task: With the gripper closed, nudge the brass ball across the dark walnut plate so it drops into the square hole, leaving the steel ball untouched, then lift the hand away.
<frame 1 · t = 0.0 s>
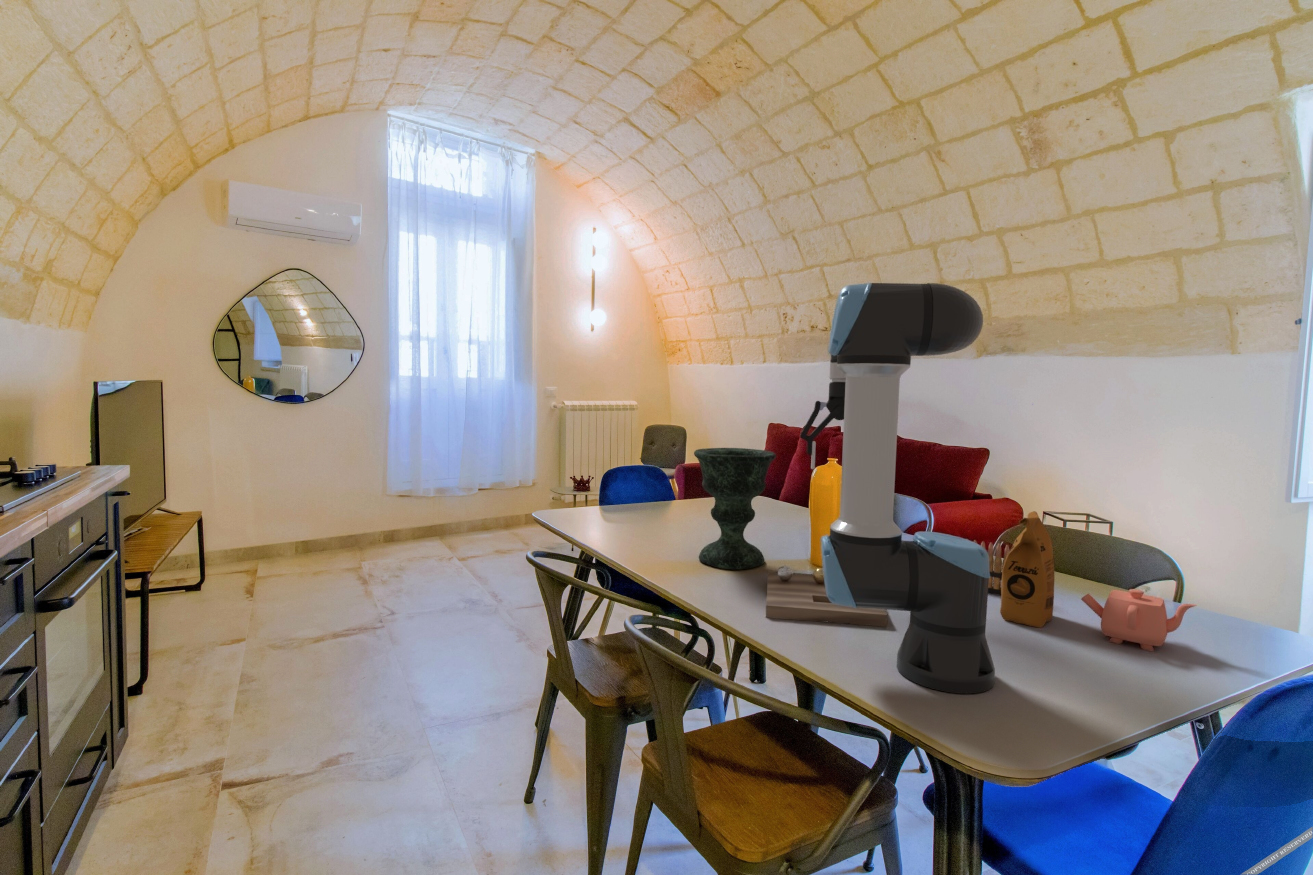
hand: (841, 469, 161), 28 cm above the table, tool pointing down, fingers open, 13 cm apart
steel ball: (785, 573, 156), point 4 cm above the table, touching hole plate
teapot: (1133, 642, 129), on the table
brass ball: (820, 575, 155), point 4 cm above the table, touching hole plate
goblet: (731, 561, 182), on the table
hole plate: (821, 601, 149), on the table
ammunition clip: (983, 591, 160), on the table
coffee package: (1024, 618, 142), on the table
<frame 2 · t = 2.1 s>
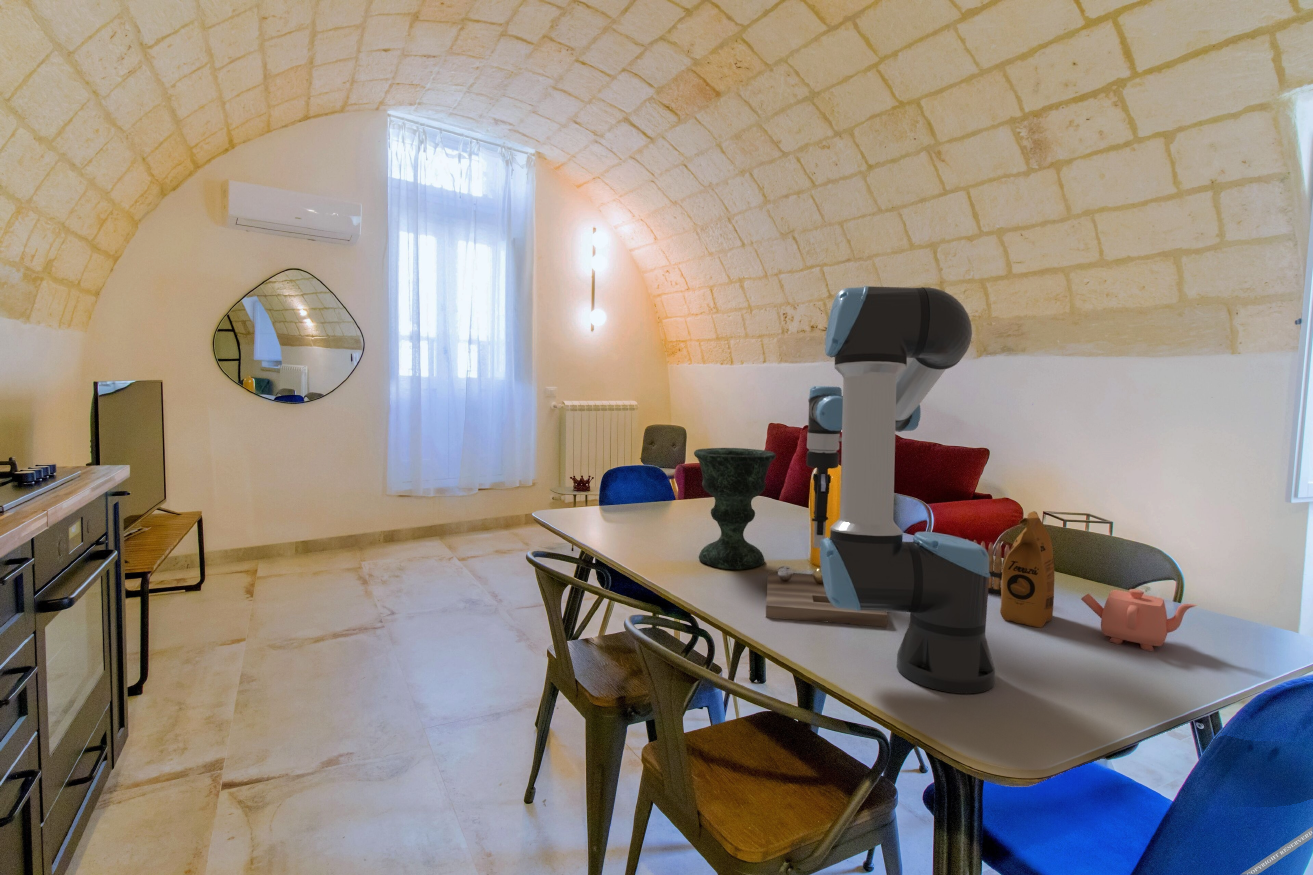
hand: (818, 546, 162), 9 cm above the table, tool pointing down, fingers closed
nothing on the table moved.
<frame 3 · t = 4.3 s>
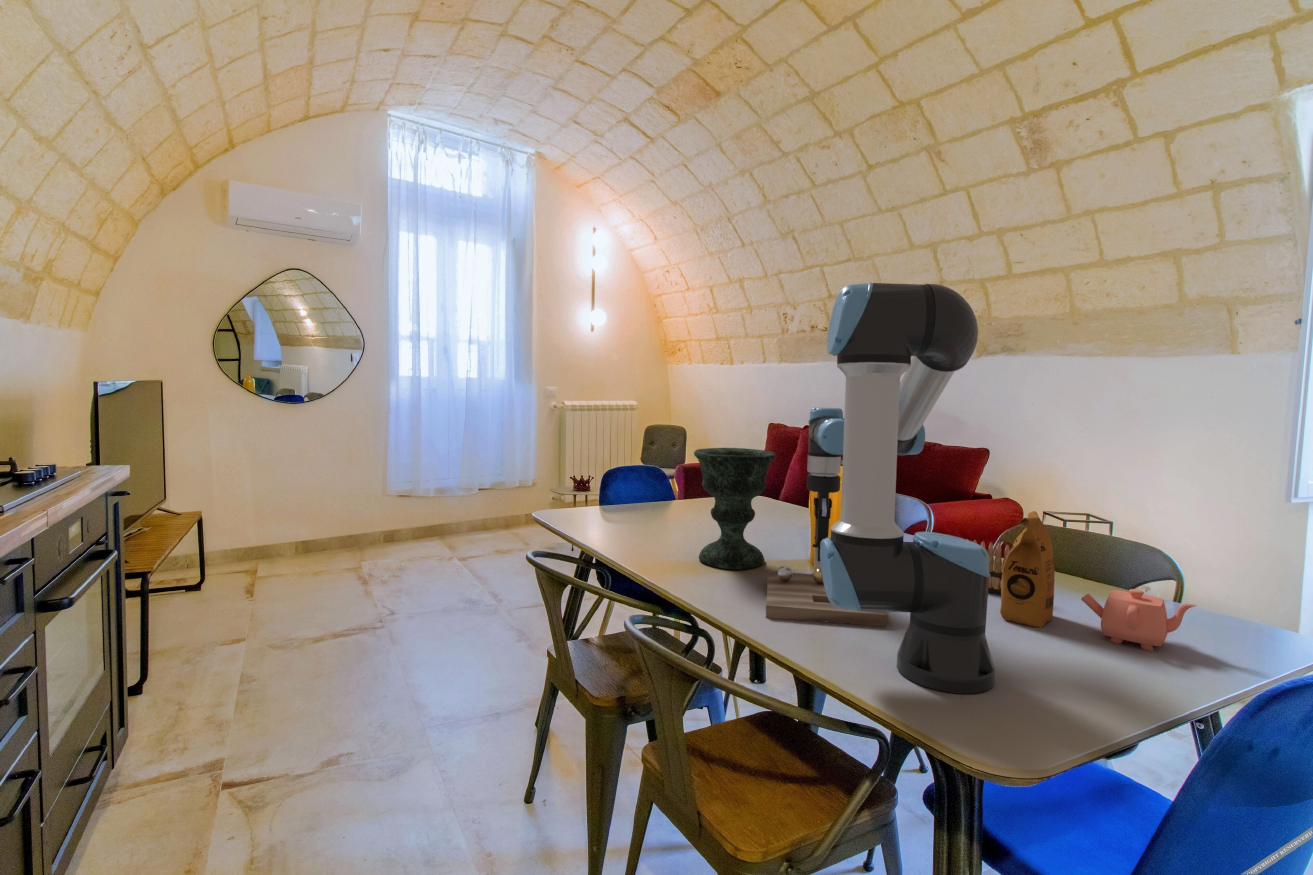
hand: (819, 573, 157), 4 cm above the table, tool pointing down, fingers closed
brass ball: (820, 575, 154), point 4 cm above the table, touching gripper, hole plate
everything else where it was.
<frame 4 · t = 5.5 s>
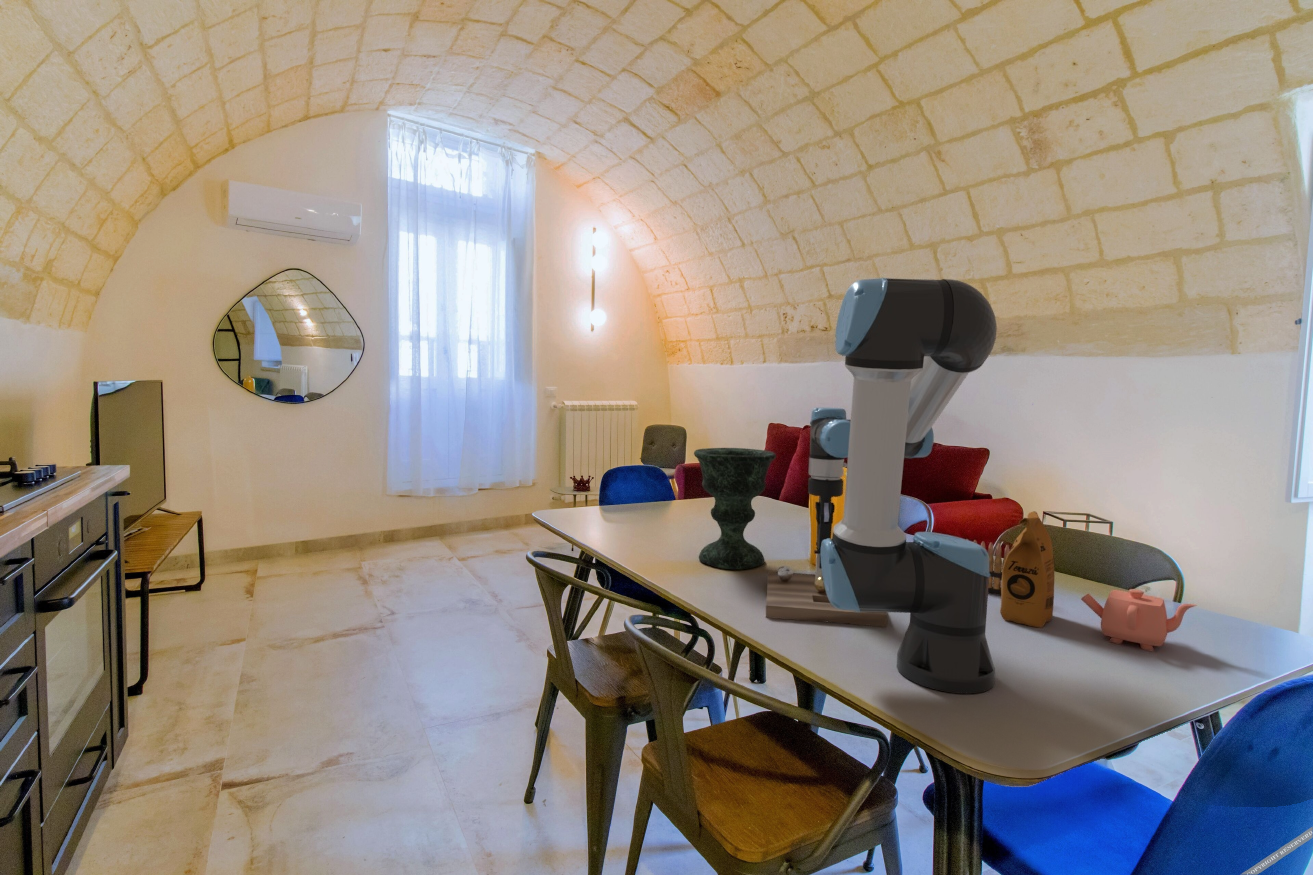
hand: (821, 581, 150), 4 cm above the table, tool pointing down, fingers closed
brass ball: (822, 584, 148), point 4 cm above the table, tilted 176°, touching gripper, hole plate
everything else where it was.
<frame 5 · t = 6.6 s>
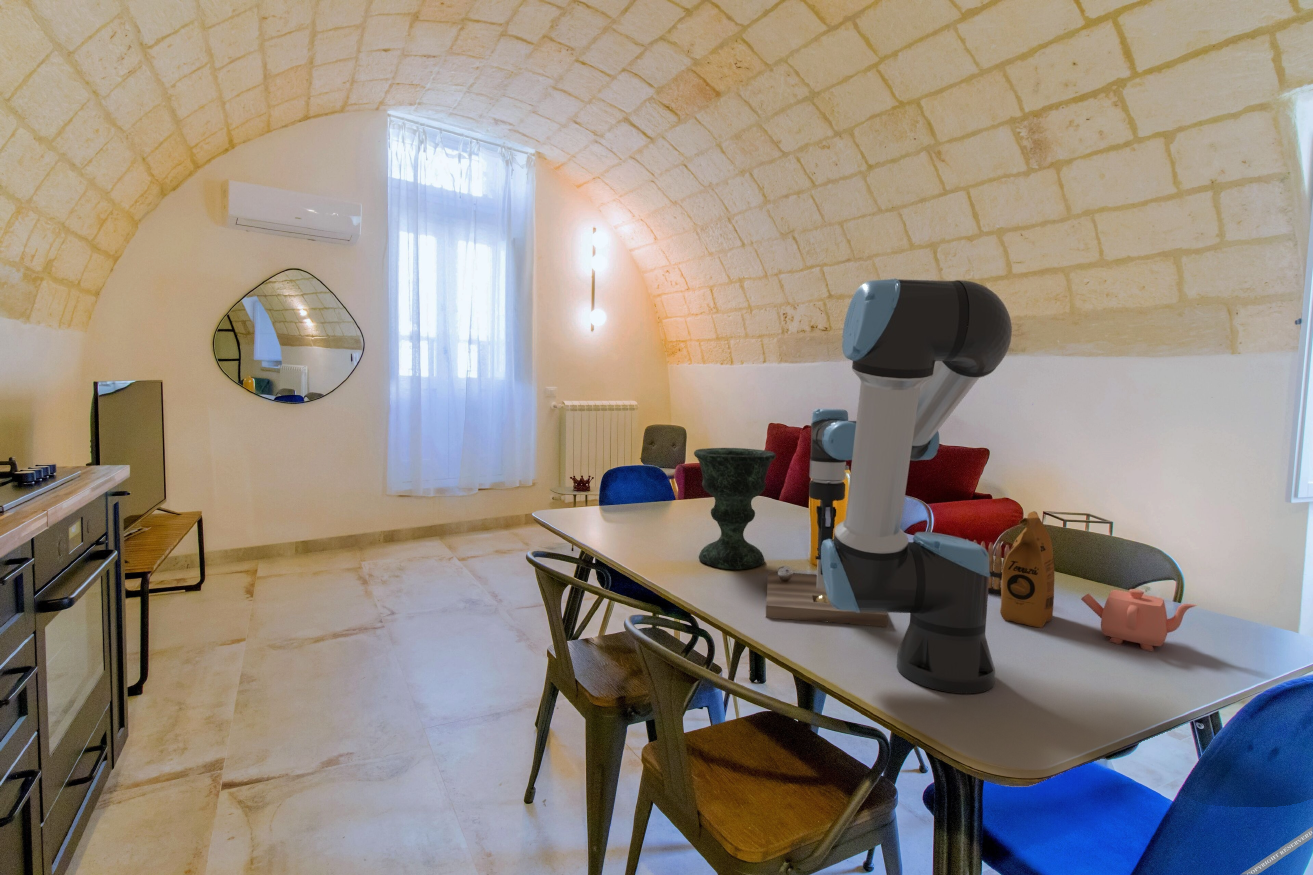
hand: (823, 587, 146), 4 cm above the table, tool pointing down, fingers closed
brass ball: (823, 603, 143), point 2 cm above the table, tilted 58°
everything else where it was.
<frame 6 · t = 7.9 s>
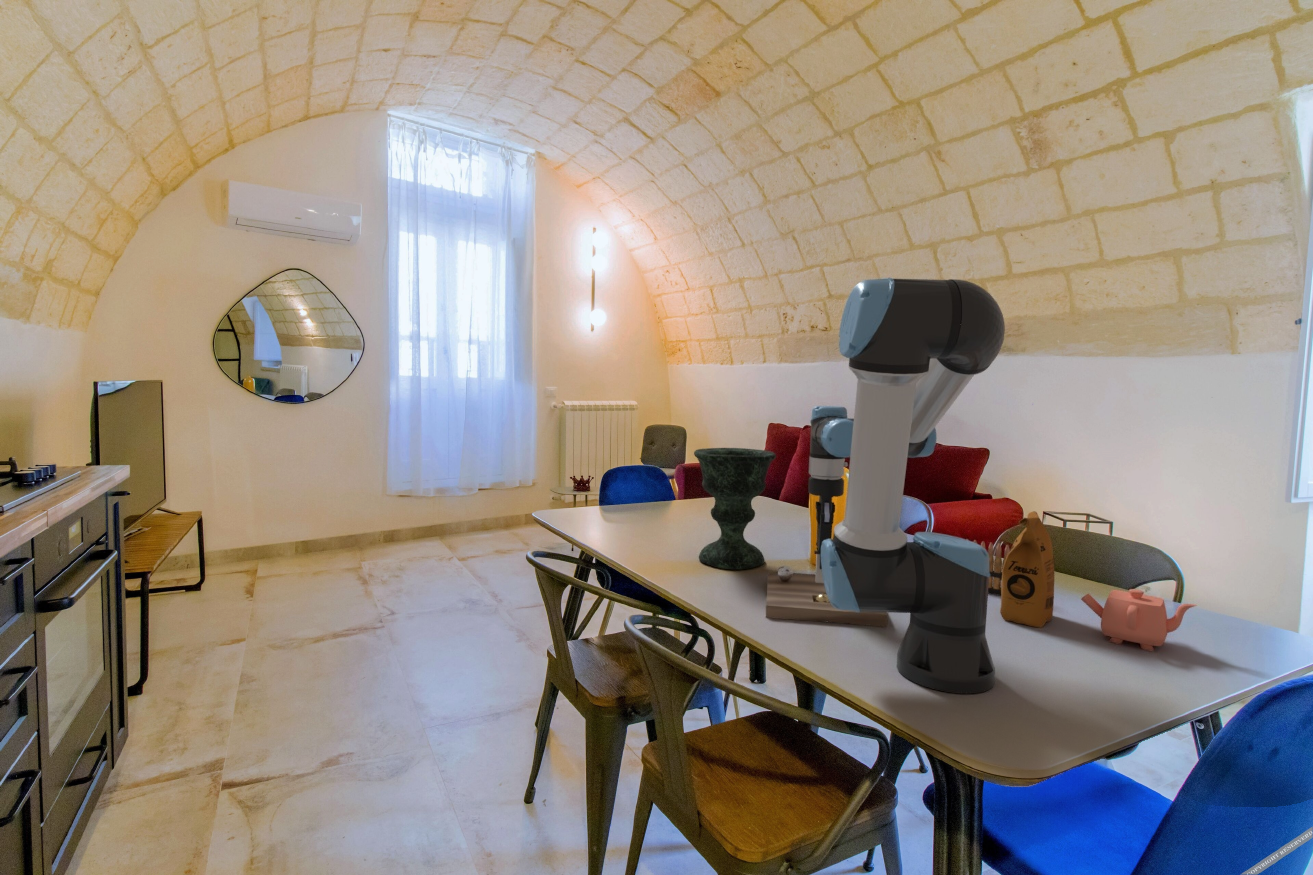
hand: (821, 581, 148), 5 cm above the table, tool pointing down, fingers closed
brass ball: (823, 601, 143), point 2 cm above the table, tilted 31°
everything else where it was.
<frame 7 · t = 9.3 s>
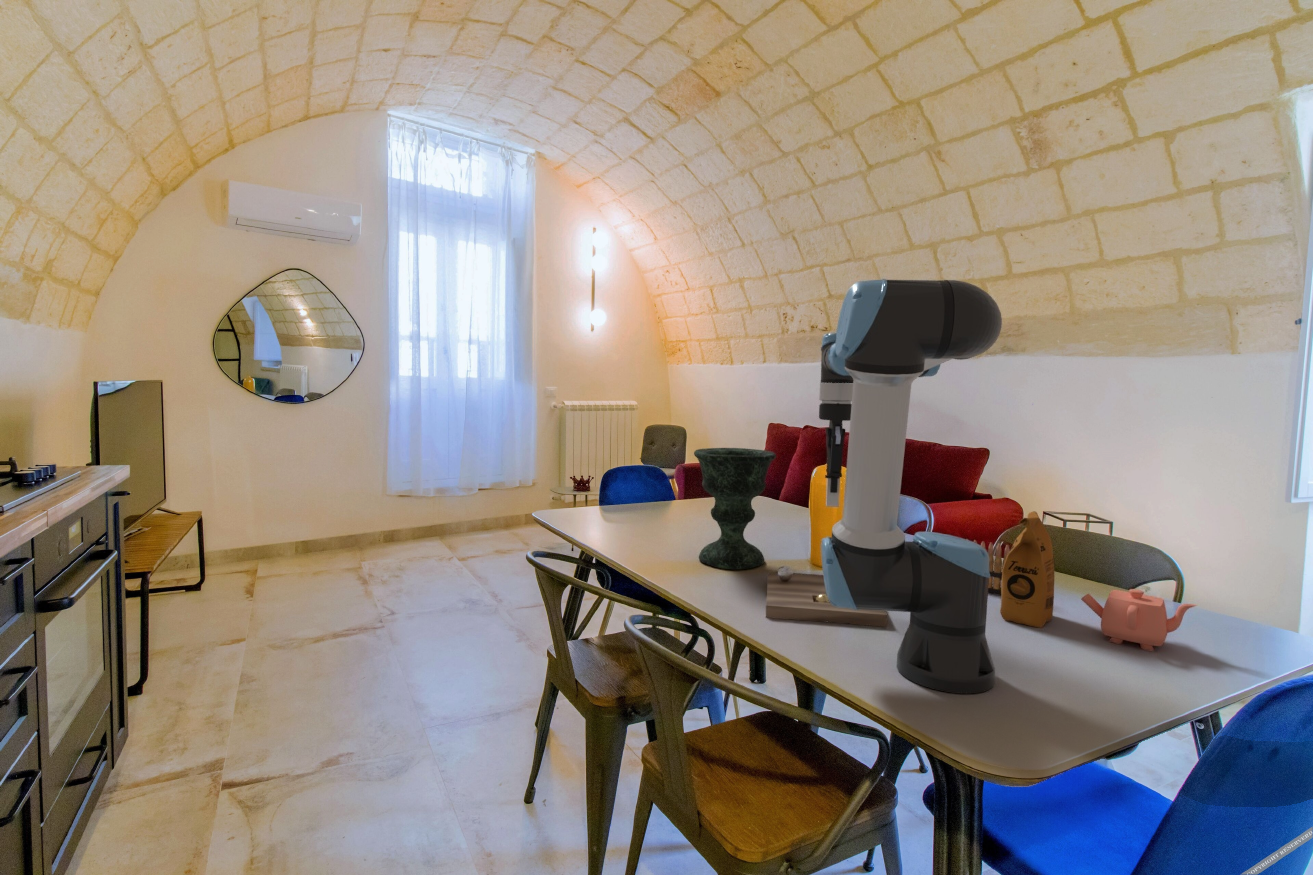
hand: (832, 506, 152), 21 cm above the table, tool pointing down, fingers closed
nothing on the table moved.
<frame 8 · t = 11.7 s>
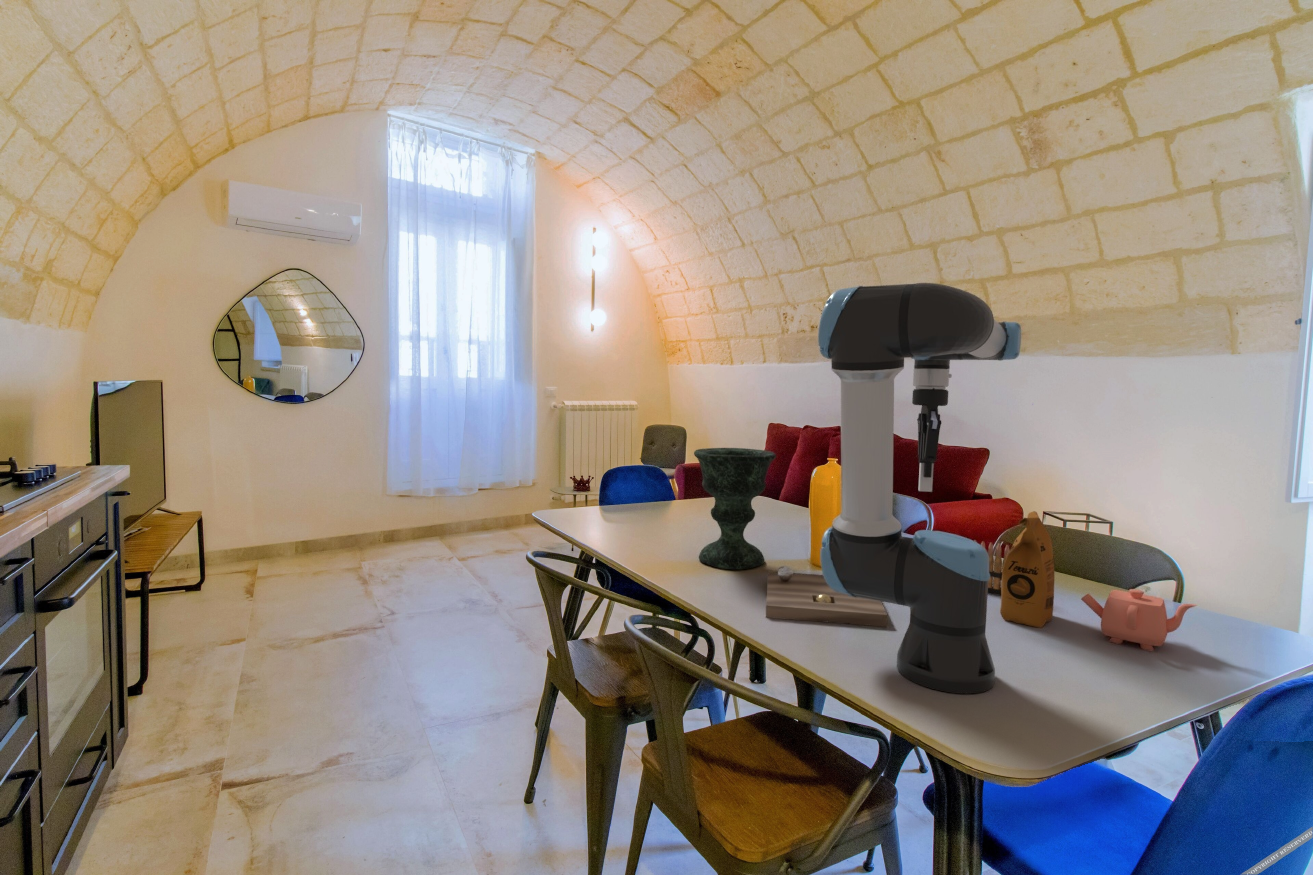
hand: (925, 490, 154), 24 cm above the table, tool pointing down, fingers closed
brass ball: (823, 602, 143), point 2 cm above the table, tilted 39°
everything else where it was.
at the end: brass ball 0.2 cm from the target spot on the hole plate, point 1.7 cm above the hole plate's base; steel ball moved 0.0 cm from its start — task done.
